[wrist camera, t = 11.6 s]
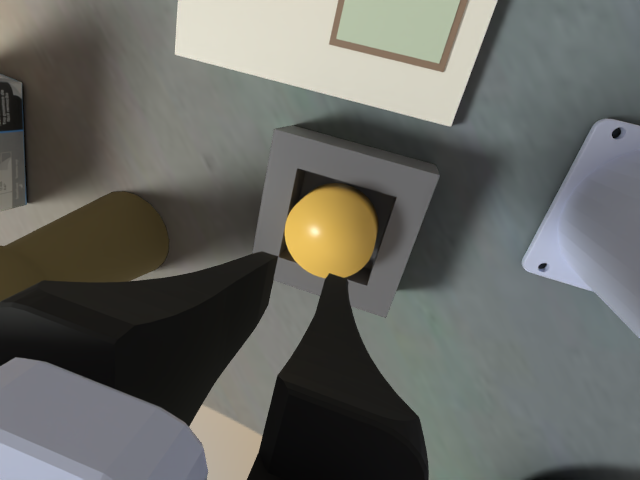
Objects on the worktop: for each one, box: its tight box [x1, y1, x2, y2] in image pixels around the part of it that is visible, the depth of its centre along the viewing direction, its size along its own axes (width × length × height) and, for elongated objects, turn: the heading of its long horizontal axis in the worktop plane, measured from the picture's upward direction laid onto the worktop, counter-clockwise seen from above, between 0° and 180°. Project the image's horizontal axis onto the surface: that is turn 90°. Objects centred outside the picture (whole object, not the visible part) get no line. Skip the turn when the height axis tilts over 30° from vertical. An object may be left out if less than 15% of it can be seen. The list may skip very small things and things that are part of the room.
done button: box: [285, 183, 378, 278], centre depth 18 cm, size 4×4×2 cm
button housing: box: [252, 125, 440, 318], centre depth 20 cm, size 8×8×3 cm
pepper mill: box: [0, 191, 169, 301], centre depth 20 cm, size 6×6×11 cm
